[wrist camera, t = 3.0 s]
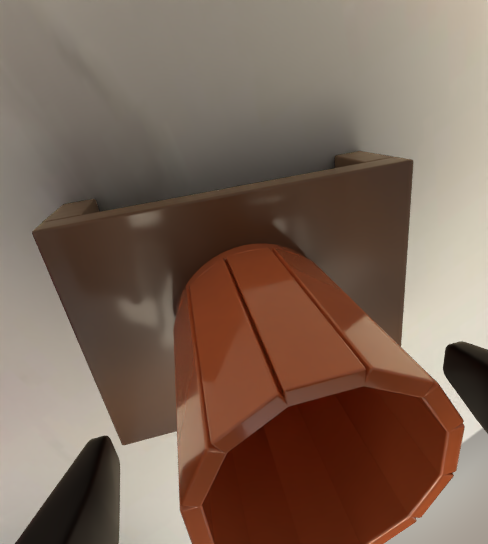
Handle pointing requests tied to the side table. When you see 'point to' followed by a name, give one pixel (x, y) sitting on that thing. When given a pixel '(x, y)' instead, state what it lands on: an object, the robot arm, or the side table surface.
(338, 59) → the side table surface
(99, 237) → the shelf
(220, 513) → the cup
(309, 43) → the side table surface
